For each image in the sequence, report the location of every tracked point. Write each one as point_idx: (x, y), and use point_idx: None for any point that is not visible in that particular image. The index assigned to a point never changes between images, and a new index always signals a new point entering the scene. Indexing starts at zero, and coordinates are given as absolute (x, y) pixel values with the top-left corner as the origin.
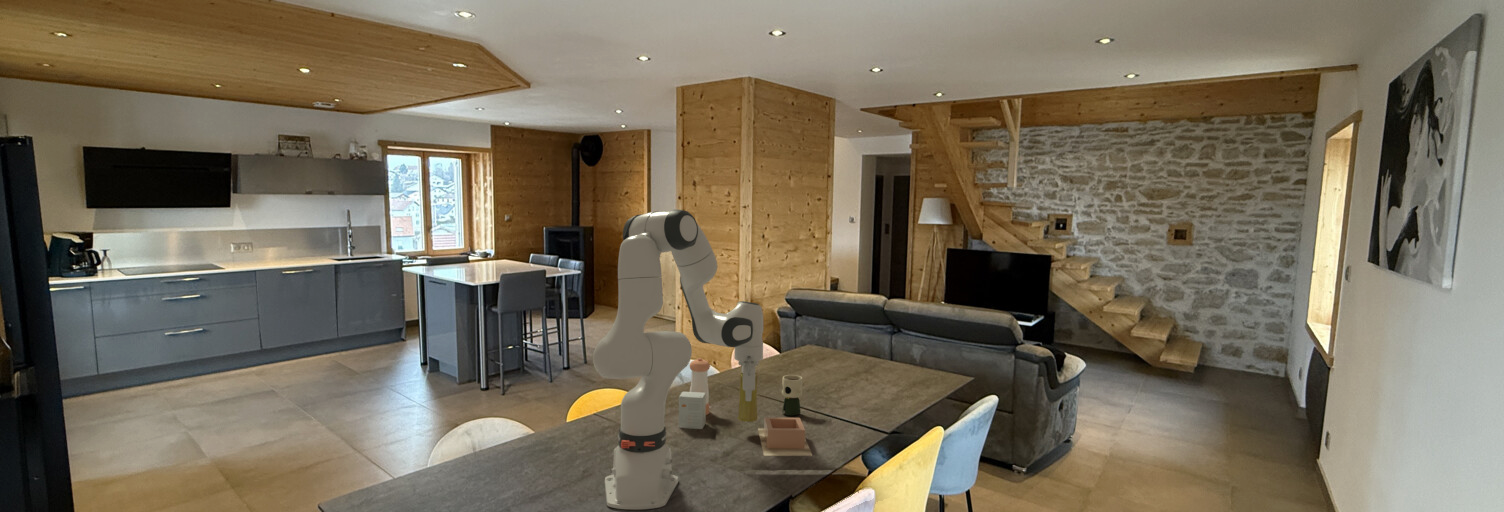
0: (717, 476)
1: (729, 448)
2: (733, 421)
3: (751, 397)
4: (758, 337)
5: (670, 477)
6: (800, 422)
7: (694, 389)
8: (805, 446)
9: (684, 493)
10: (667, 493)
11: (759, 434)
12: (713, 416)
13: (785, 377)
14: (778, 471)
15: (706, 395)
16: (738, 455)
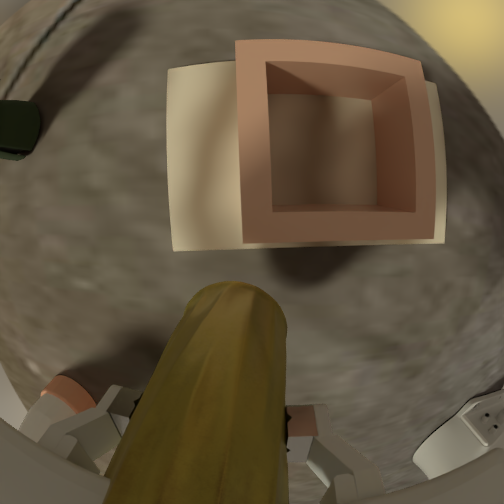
0: (481, 346)
1: (349, 347)
2: (97, 325)
3: (285, 413)
4: None
5: (469, 412)
6: (317, 46)
7: None
8: None
9: (500, 377)
10: (501, 395)
11: (245, 247)
12: (81, 371)
13: None
14: (493, 207)
15: (53, 419)
16: (404, 317)
